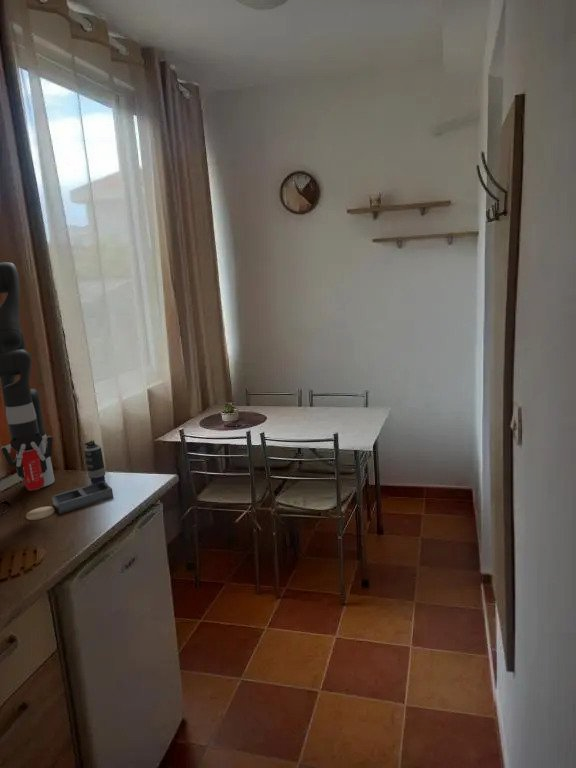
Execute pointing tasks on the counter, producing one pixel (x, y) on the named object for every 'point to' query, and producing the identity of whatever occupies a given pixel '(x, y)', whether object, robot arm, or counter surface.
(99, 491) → the rack frame
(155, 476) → the counter surface
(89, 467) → the grenade
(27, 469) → the beverage can
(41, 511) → the coaster
